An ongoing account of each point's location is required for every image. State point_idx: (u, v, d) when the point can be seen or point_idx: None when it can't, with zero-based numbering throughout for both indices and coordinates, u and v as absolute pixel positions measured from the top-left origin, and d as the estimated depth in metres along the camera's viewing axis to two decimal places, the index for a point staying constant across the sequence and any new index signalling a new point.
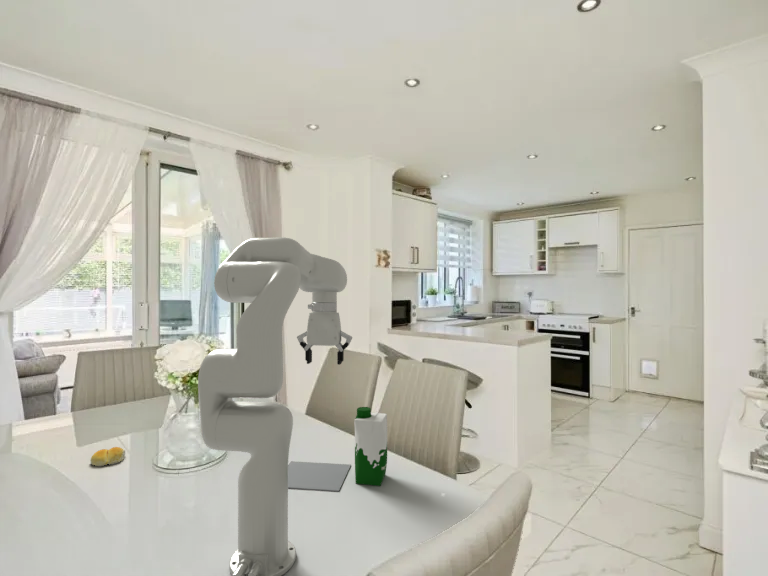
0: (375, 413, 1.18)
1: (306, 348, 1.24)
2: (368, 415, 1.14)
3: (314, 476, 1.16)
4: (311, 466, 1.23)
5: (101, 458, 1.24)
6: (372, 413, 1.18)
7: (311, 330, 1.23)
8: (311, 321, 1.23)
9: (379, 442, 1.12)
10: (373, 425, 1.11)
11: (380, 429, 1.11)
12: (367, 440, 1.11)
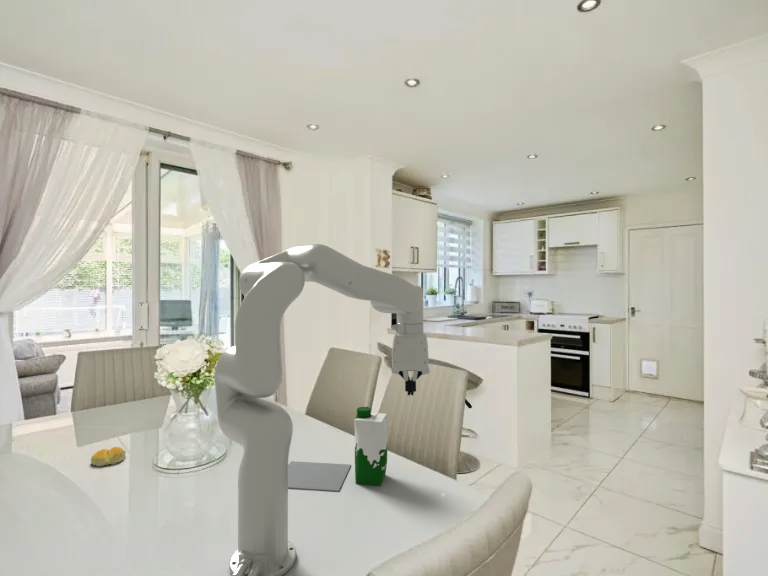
0: (375, 413, 1.18)
1: (406, 378, 1.13)
2: (368, 415, 1.14)
3: (314, 476, 1.16)
4: (311, 466, 1.23)
5: (101, 458, 1.24)
6: (372, 413, 1.18)
7: (397, 354, 1.12)
8: (397, 344, 1.12)
9: (379, 442, 1.12)
10: (373, 425, 1.11)
11: (380, 429, 1.11)
12: (367, 440, 1.11)
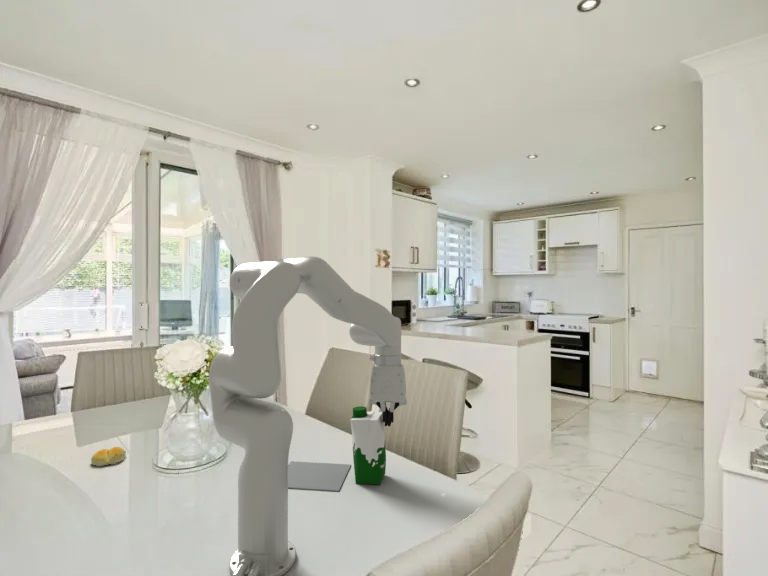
0: (371, 412, 1.18)
1: (383, 408, 1.14)
2: (364, 414, 1.14)
3: (314, 476, 1.16)
4: (311, 466, 1.23)
5: (102, 458, 1.24)
6: (368, 412, 1.18)
7: (374, 386, 1.12)
8: (374, 375, 1.13)
9: (376, 440, 1.12)
10: (370, 424, 1.11)
11: (376, 427, 1.11)
12: (364, 439, 1.11)
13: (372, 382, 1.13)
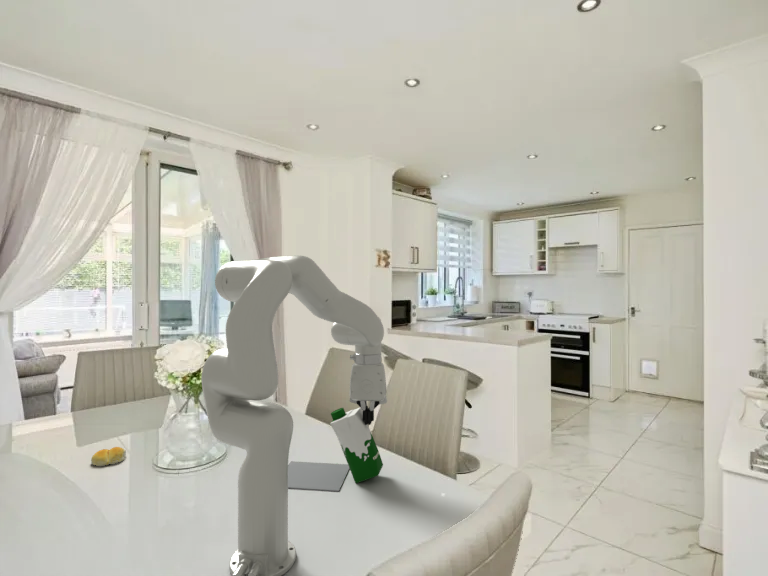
0: (350, 410, 1.19)
1: (363, 407, 1.14)
2: (342, 414, 1.16)
3: (314, 476, 1.16)
4: (311, 466, 1.23)
5: (102, 458, 1.24)
6: (348, 412, 1.19)
7: (354, 384, 1.13)
8: (354, 374, 1.13)
9: (360, 434, 1.13)
10: (349, 420, 1.13)
11: (356, 422, 1.13)
12: (348, 437, 1.12)
13: (352, 381, 1.13)
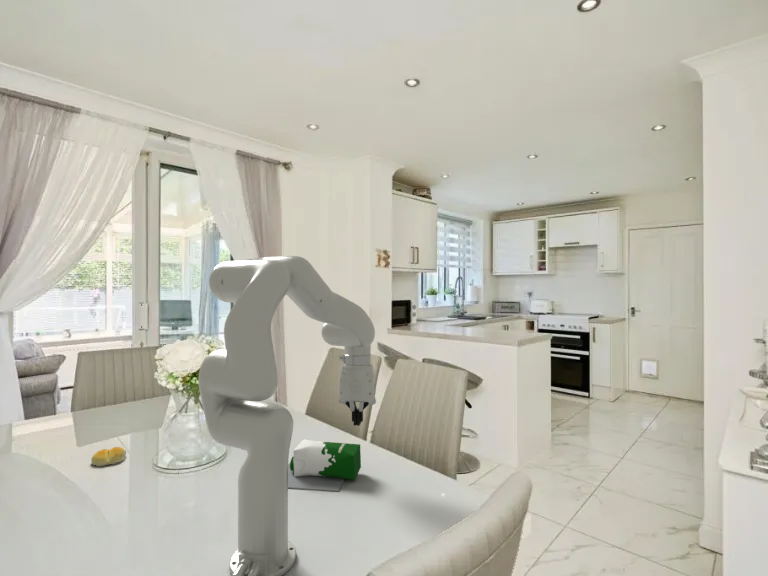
0: None
1: (352, 408, 1.15)
2: None
3: (314, 476, 1.16)
4: None
5: (102, 458, 1.24)
6: None
7: (343, 385, 1.13)
8: (343, 375, 1.14)
9: (313, 453, 1.15)
10: (297, 458, 1.15)
11: (301, 451, 1.15)
12: (310, 465, 1.14)
13: (341, 382, 1.14)
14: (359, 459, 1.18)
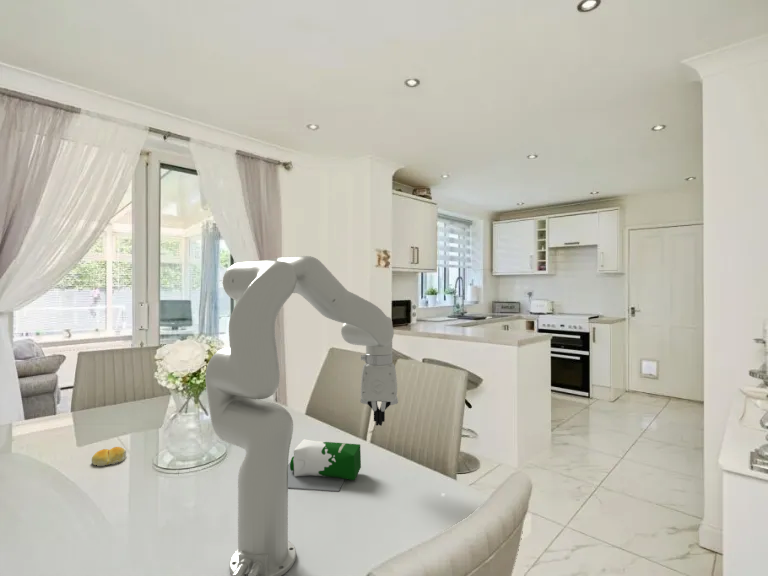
0: None
1: (374, 408, 1.14)
2: None
3: (314, 476, 1.16)
4: None
5: (102, 457, 1.24)
6: None
7: (366, 385, 1.13)
8: (366, 375, 1.13)
9: (313, 453, 1.15)
10: (297, 458, 1.15)
11: (301, 451, 1.15)
12: (310, 465, 1.14)
13: (363, 381, 1.13)
14: (359, 459, 1.18)
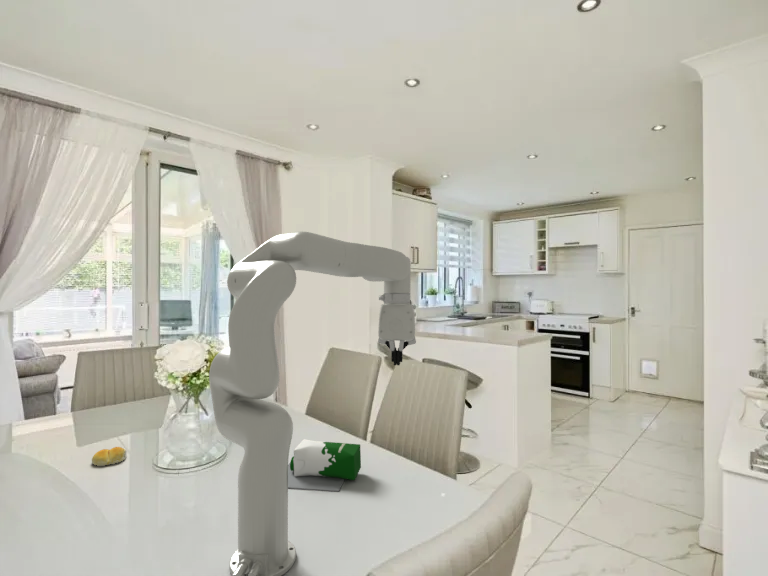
0: None
1: (392, 348, 1.13)
2: None
3: (314, 476, 1.16)
4: None
5: (103, 458, 1.24)
6: None
7: (383, 324, 1.12)
8: (384, 314, 1.12)
9: (313, 453, 1.15)
10: (297, 458, 1.15)
11: (301, 451, 1.15)
12: (310, 465, 1.14)
13: (381, 320, 1.12)
14: (359, 459, 1.18)
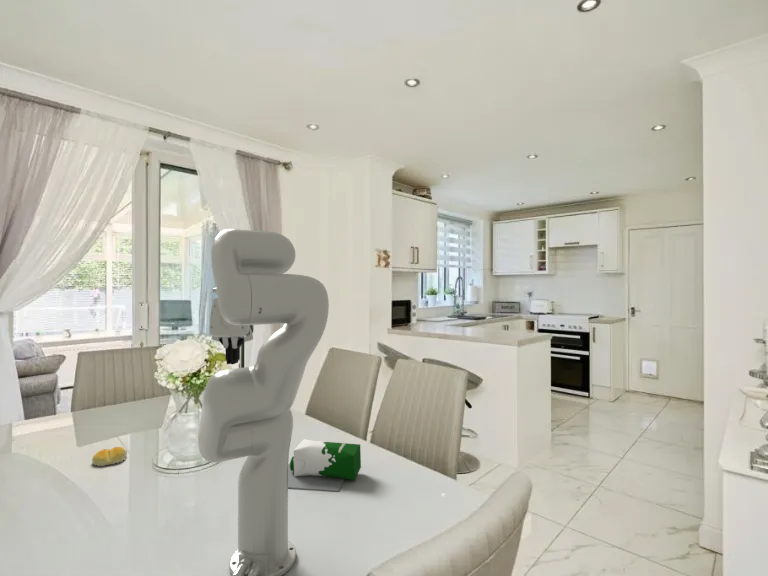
0: None
1: (225, 345, 1.03)
2: None
3: (314, 476, 1.16)
4: None
5: (103, 458, 1.24)
6: None
7: (214, 319, 1.02)
8: (214, 308, 1.02)
9: (313, 453, 1.15)
10: (297, 458, 1.15)
11: (301, 451, 1.15)
12: (310, 465, 1.14)
13: (212, 315, 1.02)
14: (359, 459, 1.18)
